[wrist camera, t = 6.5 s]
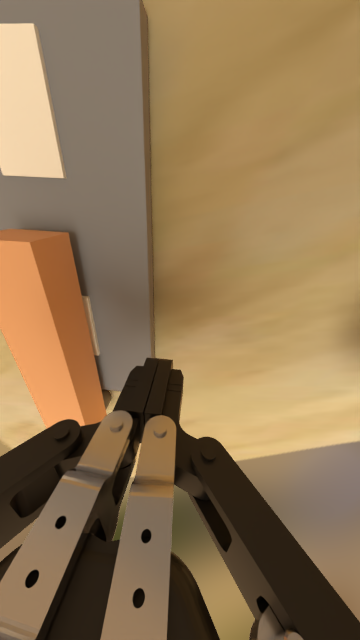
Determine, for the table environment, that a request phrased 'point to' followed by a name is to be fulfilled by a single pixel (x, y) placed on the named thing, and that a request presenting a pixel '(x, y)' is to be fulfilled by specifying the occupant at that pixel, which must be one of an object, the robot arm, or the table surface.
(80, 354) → the swing bar
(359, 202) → the table surface
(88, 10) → the label board
